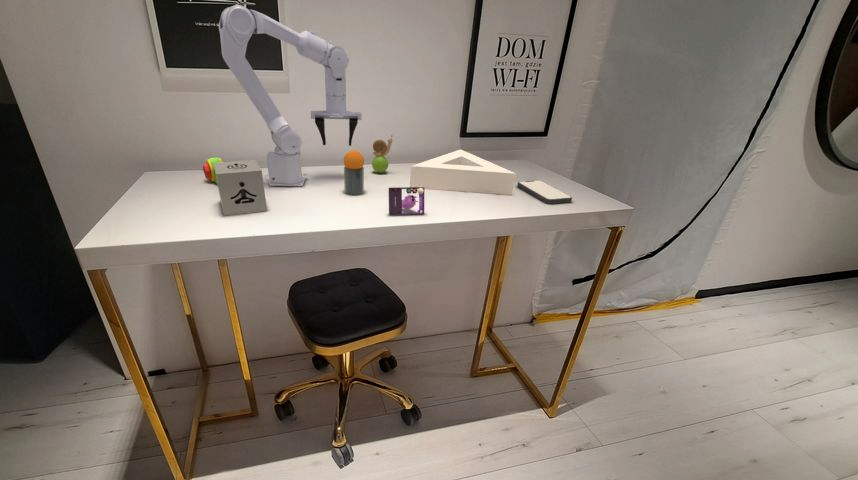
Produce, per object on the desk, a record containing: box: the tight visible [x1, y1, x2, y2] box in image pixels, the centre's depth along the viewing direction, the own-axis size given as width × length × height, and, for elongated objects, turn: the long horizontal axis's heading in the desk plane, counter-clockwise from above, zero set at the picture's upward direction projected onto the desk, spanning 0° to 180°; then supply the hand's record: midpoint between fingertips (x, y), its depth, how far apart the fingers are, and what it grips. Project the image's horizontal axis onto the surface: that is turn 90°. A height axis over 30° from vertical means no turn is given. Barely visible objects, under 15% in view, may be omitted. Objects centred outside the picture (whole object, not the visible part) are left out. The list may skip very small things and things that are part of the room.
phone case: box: [516, 179, 573, 205], centre depth 116 cm, size 9×2×16 cm
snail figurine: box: [371, 134, 393, 174], centre depth 126 cm, size 5×6×12 cm
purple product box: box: [388, 186, 425, 216], centre depth 99 cm, size 7×5×9 cm
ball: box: [343, 149, 365, 170], centre depth 107 cm, size 6×6×6 cm
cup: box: [343, 166, 365, 196], centre depth 110 cm, size 5×5×7 cm
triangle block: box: [409, 149, 517, 196], centre depth 120 cm, size 30×26×6 cm
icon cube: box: [213, 159, 268, 217], centre depth 96 cm, size 10×10×10 cm
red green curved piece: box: [202, 157, 223, 186], centre depth 116 cm, size 6×19×7 cm, turn 33°
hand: (337, 144), depth 118 cm, fingers open, 7 cm apart
